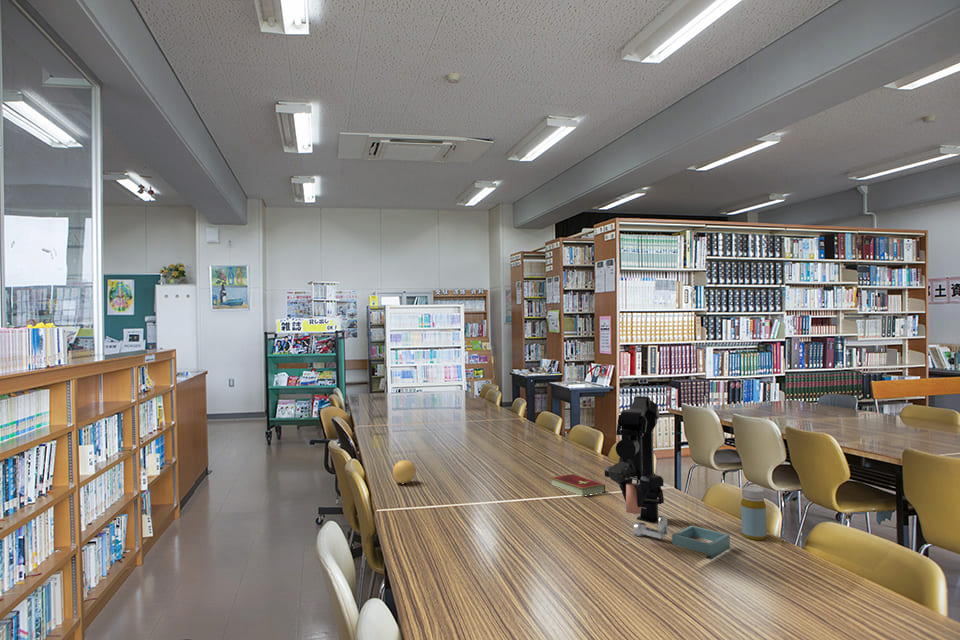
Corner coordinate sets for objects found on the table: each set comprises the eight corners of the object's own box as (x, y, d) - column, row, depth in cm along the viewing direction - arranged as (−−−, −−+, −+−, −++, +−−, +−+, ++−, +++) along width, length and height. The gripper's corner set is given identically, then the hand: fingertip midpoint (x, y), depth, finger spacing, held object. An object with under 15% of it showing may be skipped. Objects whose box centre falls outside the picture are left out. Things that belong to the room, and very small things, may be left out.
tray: (691, 538, 180) (691, 525, 180) (729, 548, 171) (729, 534, 171) (672, 548, 172) (672, 534, 172) (711, 559, 163) (710, 545, 163)
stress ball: (403, 489, 245) (420, 472, 248) (388, 472, 246) (405, 455, 248) (402, 487, 255) (419, 471, 257) (387, 470, 255) (404, 454, 258)
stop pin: (631, 508, 176) (631, 482, 176) (643, 511, 173) (643, 485, 173) (623, 511, 173) (623, 484, 173) (635, 514, 170) (635, 487, 170)
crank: (630, 534, 180) (630, 511, 180) (637, 530, 183) (637, 508, 183) (663, 543, 172) (663, 519, 172) (670, 539, 174) (669, 516, 175)
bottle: (752, 541, 176) (751, 492, 177) (736, 534, 183) (735, 487, 183) (771, 539, 178) (770, 490, 178) (755, 532, 185) (754, 485, 185)
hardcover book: (572, 482, 251) (572, 473, 251) (605, 494, 233) (605, 483, 233) (550, 486, 245) (550, 476, 245) (582, 498, 227) (582, 487, 227)
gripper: (591, 451, 177) (592, 502, 177) (637, 461, 161) (638, 517, 161) (616, 447, 183) (617, 496, 183) (664, 457, 167) (665, 511, 167)
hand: (633, 505), depth 173 cm, fingers closed on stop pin, 4 cm apart
